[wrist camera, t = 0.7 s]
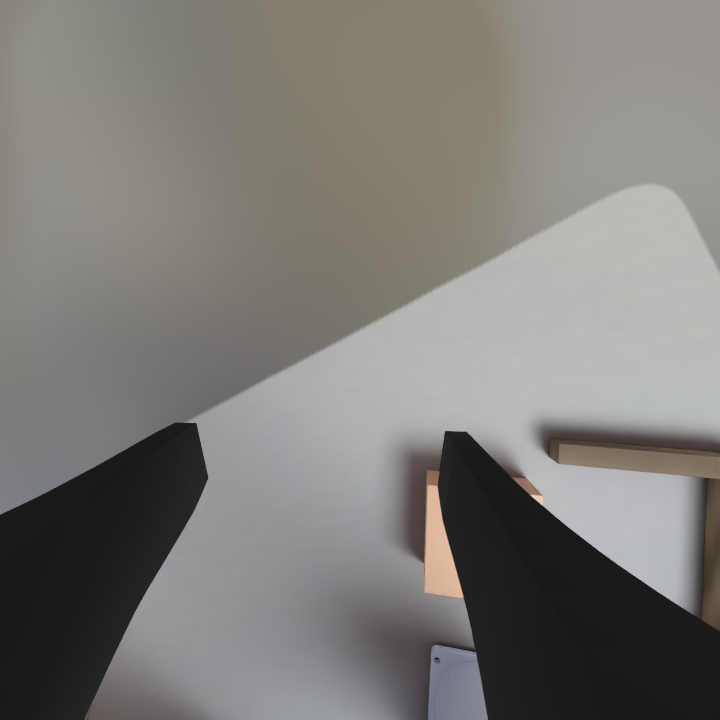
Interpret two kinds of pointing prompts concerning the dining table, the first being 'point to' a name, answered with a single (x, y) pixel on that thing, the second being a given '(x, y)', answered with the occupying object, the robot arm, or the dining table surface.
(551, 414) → the dining table surface
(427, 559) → the carton
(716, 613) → the brown u-shaped wooden frame
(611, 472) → the dining table surface
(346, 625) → the dining table surface
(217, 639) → the dining table surface
